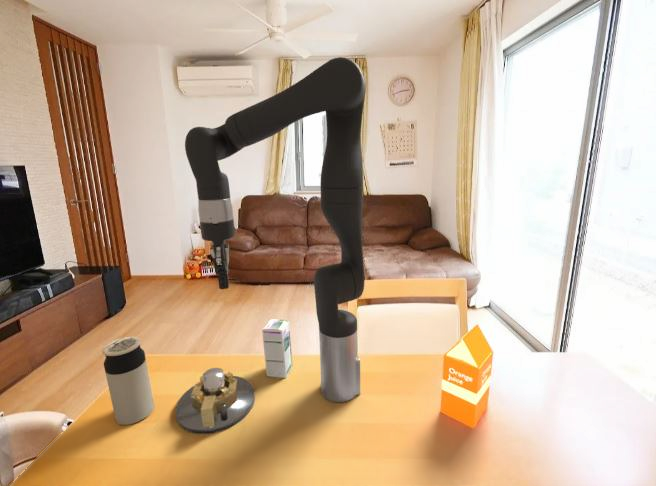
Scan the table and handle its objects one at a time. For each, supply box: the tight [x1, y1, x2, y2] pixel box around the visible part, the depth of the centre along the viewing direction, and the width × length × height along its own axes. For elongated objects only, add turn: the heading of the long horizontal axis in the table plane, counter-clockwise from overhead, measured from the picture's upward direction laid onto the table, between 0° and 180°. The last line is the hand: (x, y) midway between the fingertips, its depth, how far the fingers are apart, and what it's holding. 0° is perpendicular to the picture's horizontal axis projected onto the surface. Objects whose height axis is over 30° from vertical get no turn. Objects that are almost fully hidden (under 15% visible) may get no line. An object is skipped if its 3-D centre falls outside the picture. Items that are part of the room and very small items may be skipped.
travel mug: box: [101, 336, 155, 426], centre depth 77 cm, size 8×8×18 cm
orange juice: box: [440, 323, 494, 429], centre depth 75 cm, size 8×9×20 cm
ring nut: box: [191, 371, 238, 428], centre depth 78 cm, size 14×10×4 cm
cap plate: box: [175, 367, 256, 435], centre depth 80 cm, size 18×18×8 cm
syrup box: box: [261, 318, 293, 379], centre depth 91 cm, size 6×6×14 cm
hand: (224, 287), depth 82 cm, fingers closed
